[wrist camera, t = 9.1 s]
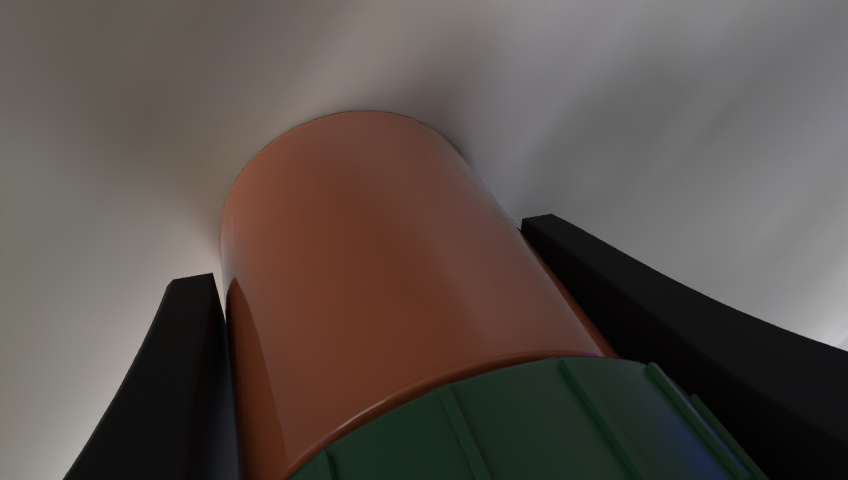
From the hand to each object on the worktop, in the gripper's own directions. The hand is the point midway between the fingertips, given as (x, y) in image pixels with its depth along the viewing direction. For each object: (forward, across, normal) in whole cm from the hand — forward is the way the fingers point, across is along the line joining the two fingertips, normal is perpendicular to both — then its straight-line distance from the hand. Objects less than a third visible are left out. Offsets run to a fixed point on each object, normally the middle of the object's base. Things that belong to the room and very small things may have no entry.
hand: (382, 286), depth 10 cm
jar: (+2, 0, 0) cm, 2 cm away
